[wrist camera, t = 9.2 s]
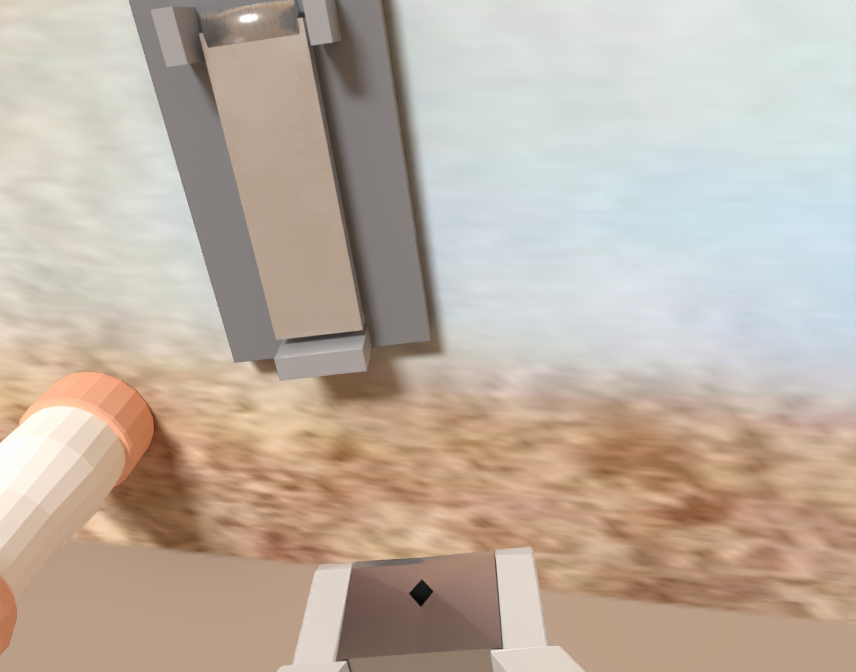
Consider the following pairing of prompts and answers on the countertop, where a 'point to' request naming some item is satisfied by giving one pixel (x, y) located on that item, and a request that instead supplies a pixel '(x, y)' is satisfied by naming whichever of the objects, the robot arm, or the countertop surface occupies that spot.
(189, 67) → the clamp board
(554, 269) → the countertop surface
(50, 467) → the pepper shaker
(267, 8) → the clamp lever
